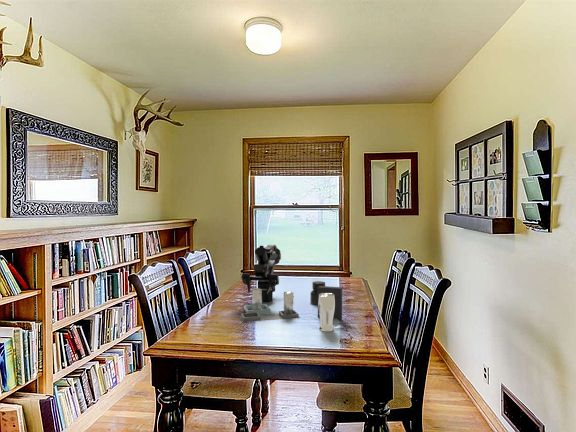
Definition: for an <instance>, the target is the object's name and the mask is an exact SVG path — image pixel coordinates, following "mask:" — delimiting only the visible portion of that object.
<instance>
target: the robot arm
mask: <svg viewBox="0 0 576 432" xmlns="http://www.w3.org/2000/svg"><path fill="white" fill-rule="evenodd" d="M254 254H255V258H256V261H257V264H253V273H254V276H253V275H251V274H250V273H242V274H241V280H242V284H244V285H246V286H247V293H248V294H250V293H251V287H252V281H257V288H260V289H262V303H271V302H273V301H274V300H273V298H274V297H273V293H274V292H276V286H279V285H280V277H279V274H275V273H274V271H275V269H276V268H275V267H276V265H278V264H279V263H280V260H282V253H281V250H280V249H279V248H278V247H277V245H276V244H267V245H266V246H264V245H259V247H257V248H255V250H254Z"/></svg>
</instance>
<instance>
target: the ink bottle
mask: <svg viewBox="0 0 576 432" xmlns="http://www.w3.org/2000/svg"><path fill="white" fill-rule="evenodd" d="M311 285H312V287H311V288H312V290H311V291H310V292H309V293H310V294H309V295H310V303H309V304H310V305H315V306H318V296H317V288H318V287H319V286H326V282H325V281H321V280H317V281H316V280H315V281H312V284H311Z"/></svg>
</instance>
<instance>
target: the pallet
mask: <svg viewBox="0 0 576 432" xmlns="http://www.w3.org/2000/svg"><path fill="white" fill-rule="evenodd" d="M239 319H240V321H241V323H250V322H262V321H277V320H279V321H280V320H290V319H292V320H293V319H301V317H300V314H299V313H298V312H297V311H296V310H295V309H293V314H287V315H284V310H278V313H269V314H258V312H256V313H246V312H244V313H243V312H242V313H240V315H239Z"/></svg>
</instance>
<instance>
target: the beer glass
mask: <svg viewBox="0 0 576 432" xmlns="http://www.w3.org/2000/svg"><path fill="white" fill-rule="evenodd" d="M318 307H319V314H320V317H319V319H320V322H319V331H321V332H323V333H325V332H326V333H331V332H333V331H334V330H335V329H334V318H333V316H334V310H335V298H334V294H332V293H321V294H319V301H318V305H317V308H318Z"/></svg>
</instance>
